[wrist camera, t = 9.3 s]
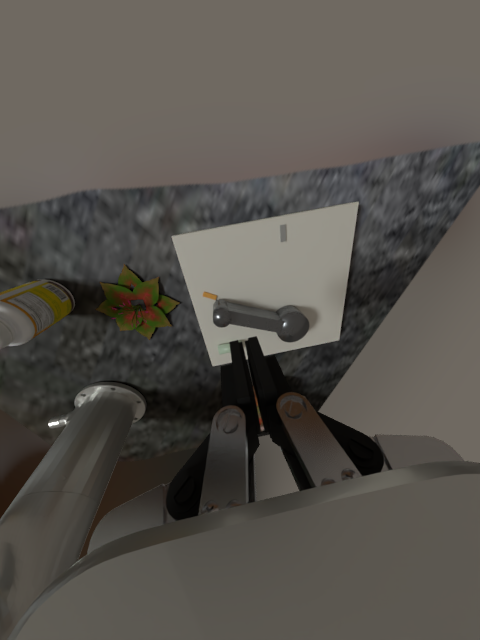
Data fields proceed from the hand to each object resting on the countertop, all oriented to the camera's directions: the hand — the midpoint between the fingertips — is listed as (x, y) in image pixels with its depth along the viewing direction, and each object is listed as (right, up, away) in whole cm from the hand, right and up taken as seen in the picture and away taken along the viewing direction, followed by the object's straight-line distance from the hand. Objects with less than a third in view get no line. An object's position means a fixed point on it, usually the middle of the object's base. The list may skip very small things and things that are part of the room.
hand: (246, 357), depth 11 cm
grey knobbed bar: (+3, +3, +18) cm, 18 cm away
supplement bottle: (-27, +6, +15) cm, 31 cm away
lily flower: (-16, +5, +18) cm, 24 cm away
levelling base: (+4, +7, +19) cm, 20 cm away
